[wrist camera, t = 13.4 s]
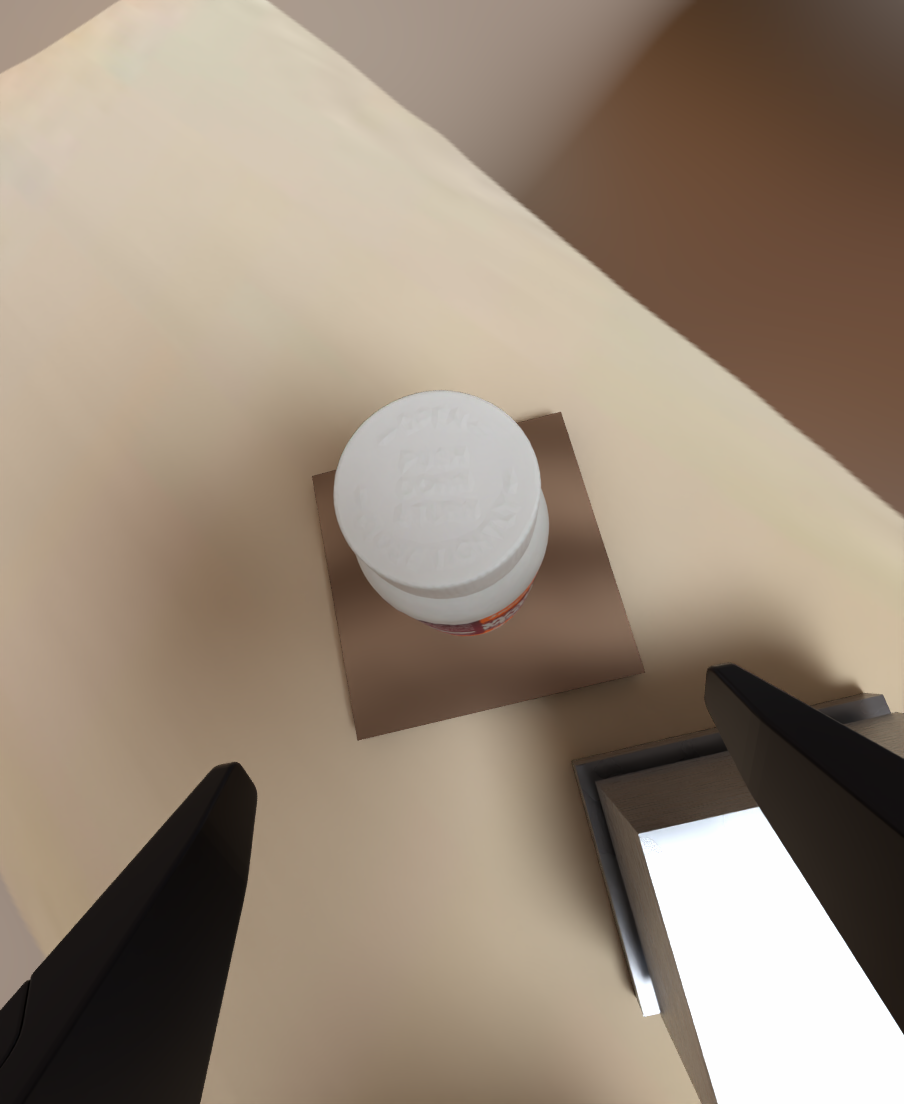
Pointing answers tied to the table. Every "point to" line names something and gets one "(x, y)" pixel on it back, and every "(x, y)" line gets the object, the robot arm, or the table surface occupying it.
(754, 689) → the robot arm
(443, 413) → the pill bottle
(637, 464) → the table surface
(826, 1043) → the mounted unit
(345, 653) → the plate
